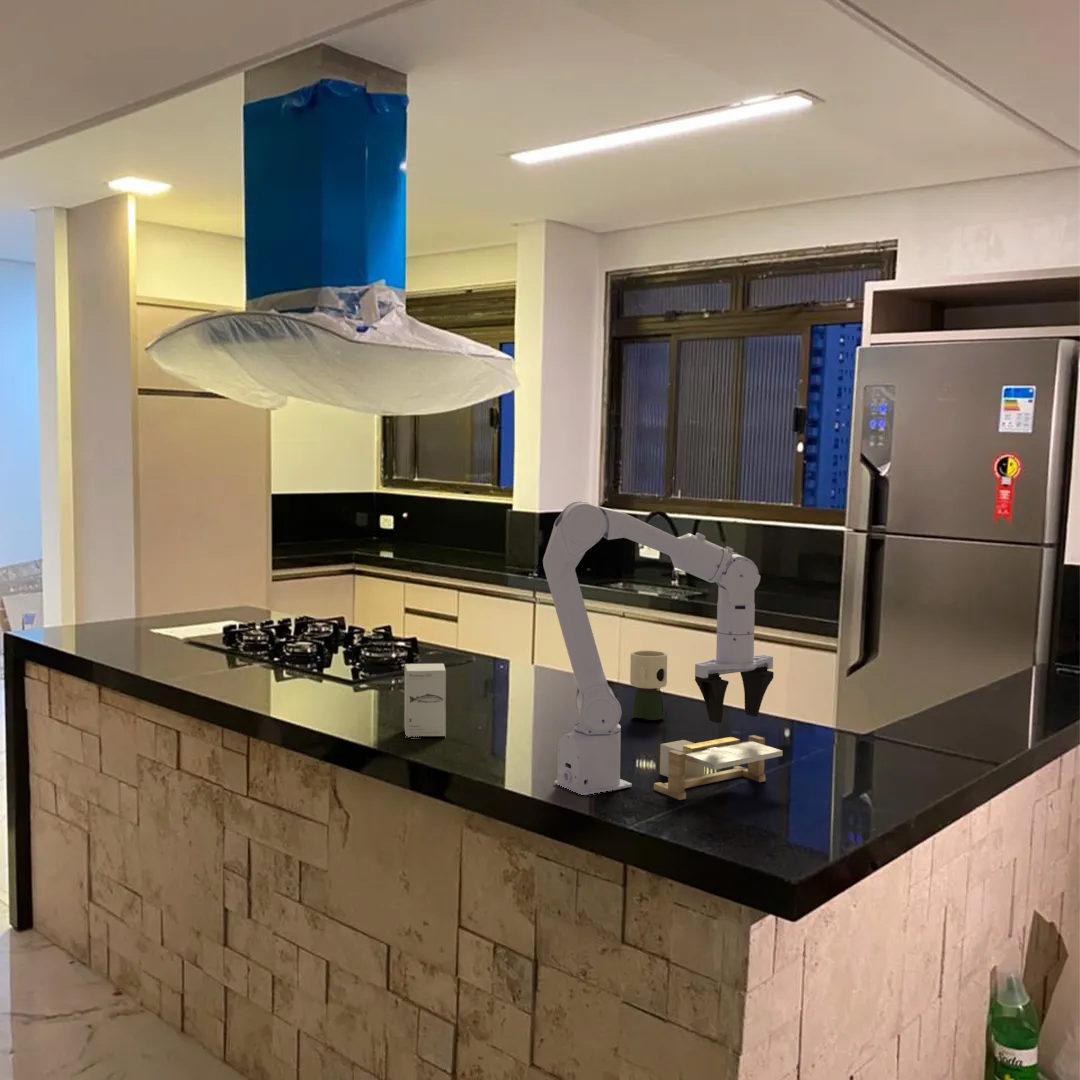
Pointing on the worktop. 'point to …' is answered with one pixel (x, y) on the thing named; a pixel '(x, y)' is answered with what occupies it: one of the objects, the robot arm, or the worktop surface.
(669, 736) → the worktop surface
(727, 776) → the frame
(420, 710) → the supplement box
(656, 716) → the character mug
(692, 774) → the stone block
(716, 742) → the trapdoor
